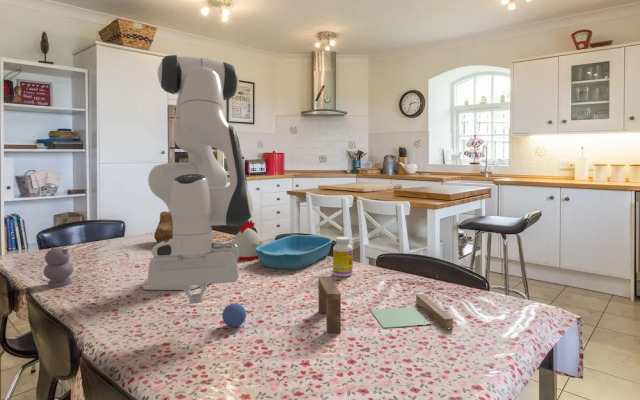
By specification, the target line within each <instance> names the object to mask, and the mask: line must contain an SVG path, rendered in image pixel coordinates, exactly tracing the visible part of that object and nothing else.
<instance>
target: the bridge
mask: <svg viewBox="0 0 640 400" xmlns="http://www.w3.org/2000/svg"><path fill="white" fill-rule="evenodd" d="M317 280H318V282H317V283H318V286H317V287H318V290H317V292H318V314H321V315H322V314H324V315H325V314H326V317H325V318H326V332H327V334H340V333H342V332H341V331H342V328H341V326H342V322H341V321H342V319H341V318H342V315H341V313H342V312H341V311H342V310H341V309H342V308H341V307H342V305H341V304H342V302H341V301H342V298H341V297H342V294H341V292H340V290H339V288H338V287H337V286H336V284H335V282H334V281H333V279H332V277H331V276H330V275H328V276H327V275H326V276H325V275H324V276H318V279H317Z"/></svg>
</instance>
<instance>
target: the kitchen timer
mask: <svg viewBox="0 0 640 400" xmlns="http://www.w3.org/2000/svg"><path fill="white" fill-rule="evenodd" d="M238 227H239V231H238V233H237V234H236V235H235V237H234V239H232V240H231V243H232V244H234V245H236V246H237V247H238V248H239V258H238V260H237V261H239V260H250V261H256V260H255V259H257V260H259V257H258V255H257V252H256V248H257V247H258V246H261V245H263V244H264V242H263V240H262V239H261V237H260V235H259V234H258V233H257V232H256V231H255V230H254V227H255V222H253V220H251V219H249V220H248V221H247V222H246V223H245V224H243V225H242V226H238ZM232 247H234V246H232Z"/></svg>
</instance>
